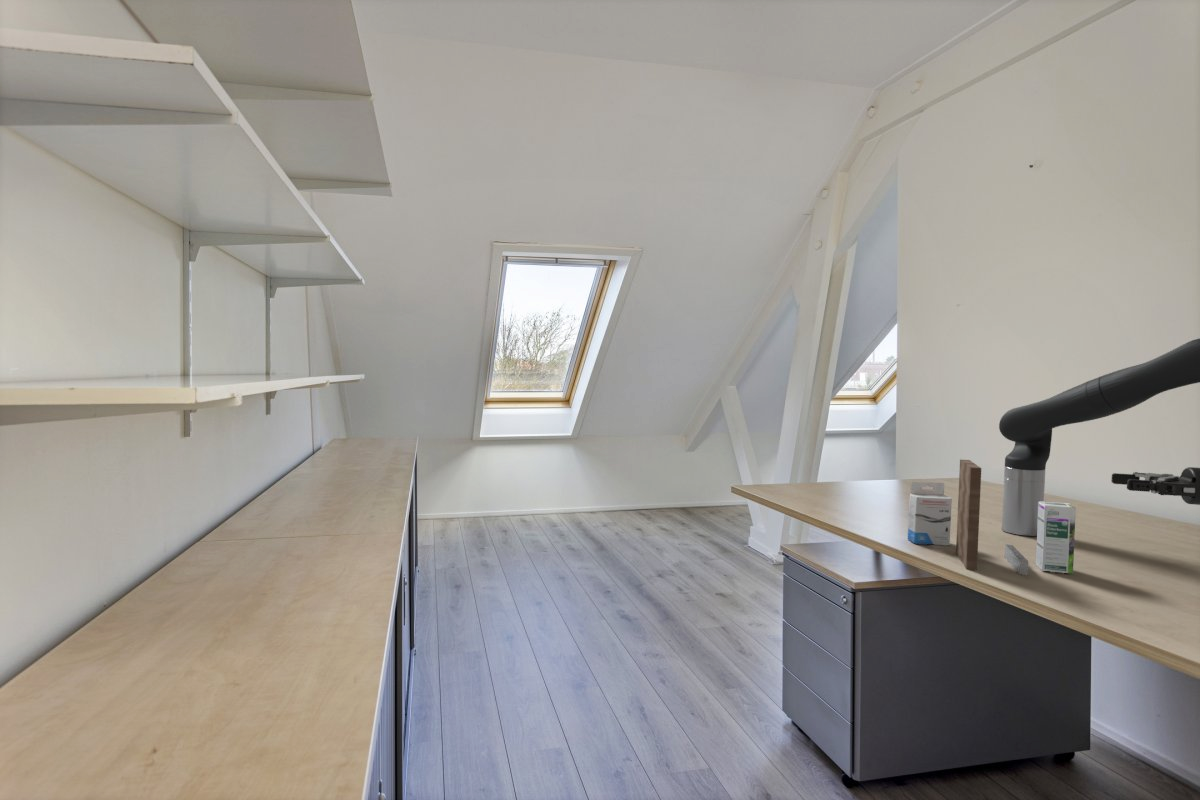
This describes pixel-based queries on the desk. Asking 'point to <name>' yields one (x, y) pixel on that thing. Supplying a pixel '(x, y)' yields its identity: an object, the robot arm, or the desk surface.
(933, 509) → the ink box
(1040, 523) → the syrup box
